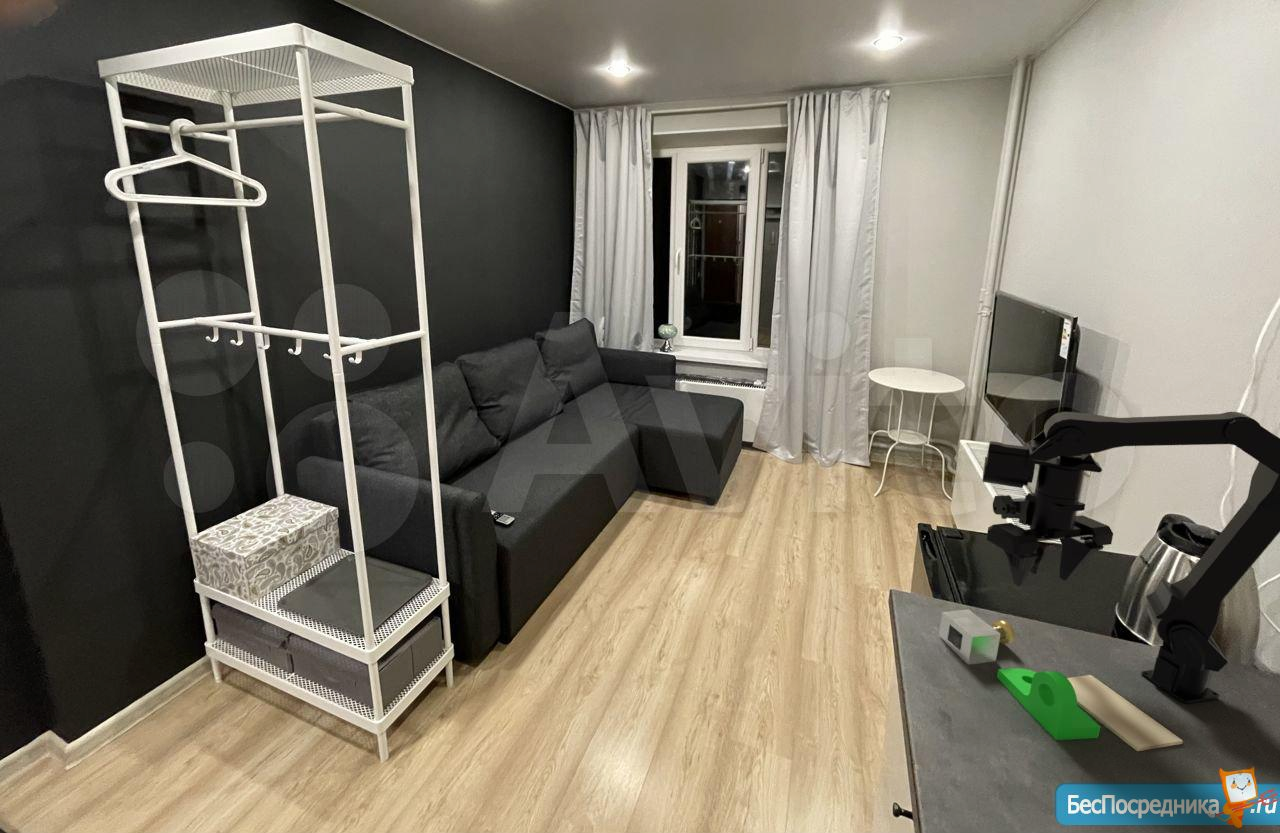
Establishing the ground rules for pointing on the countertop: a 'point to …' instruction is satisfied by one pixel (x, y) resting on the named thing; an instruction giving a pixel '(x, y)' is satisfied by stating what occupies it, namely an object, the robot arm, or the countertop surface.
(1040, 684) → the mechanical part
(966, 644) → the bearing block
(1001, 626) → the shaft
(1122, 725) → the beige wooden board
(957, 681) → the countertop surface
